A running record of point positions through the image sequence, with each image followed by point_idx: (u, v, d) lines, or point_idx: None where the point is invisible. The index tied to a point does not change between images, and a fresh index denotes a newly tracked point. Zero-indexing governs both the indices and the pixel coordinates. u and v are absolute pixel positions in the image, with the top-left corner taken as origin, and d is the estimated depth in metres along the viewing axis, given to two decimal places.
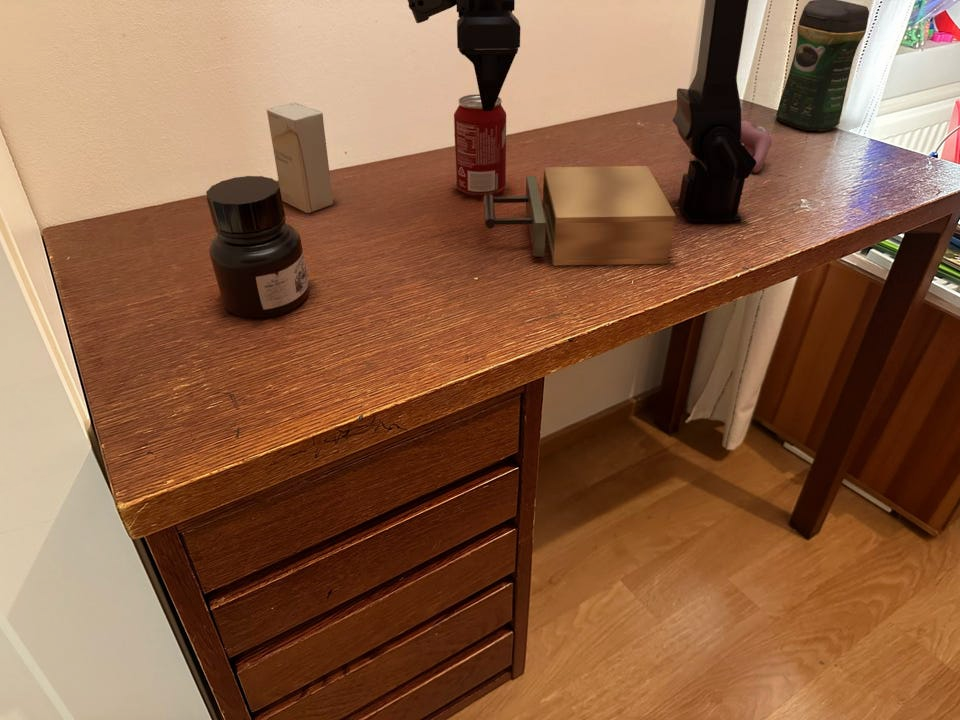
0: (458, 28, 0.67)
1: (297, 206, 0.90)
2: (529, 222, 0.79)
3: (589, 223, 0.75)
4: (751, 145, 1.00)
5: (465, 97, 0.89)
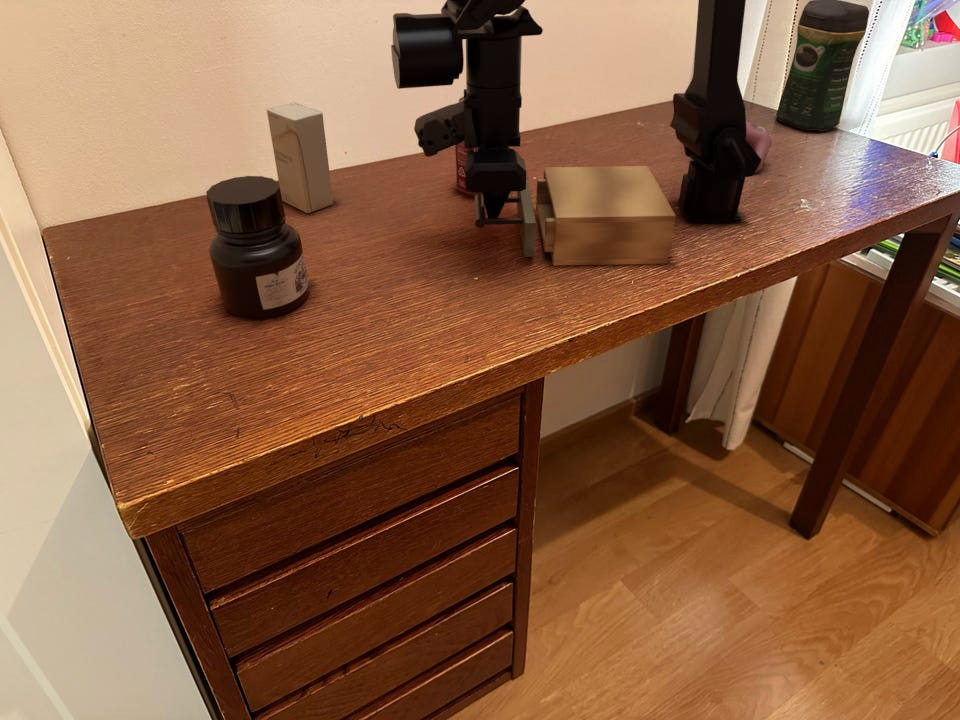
0: (466, 173, 0.69)
1: (297, 206, 0.90)
2: (519, 222, 0.79)
3: (589, 223, 0.75)
4: (751, 145, 1.00)
5: None
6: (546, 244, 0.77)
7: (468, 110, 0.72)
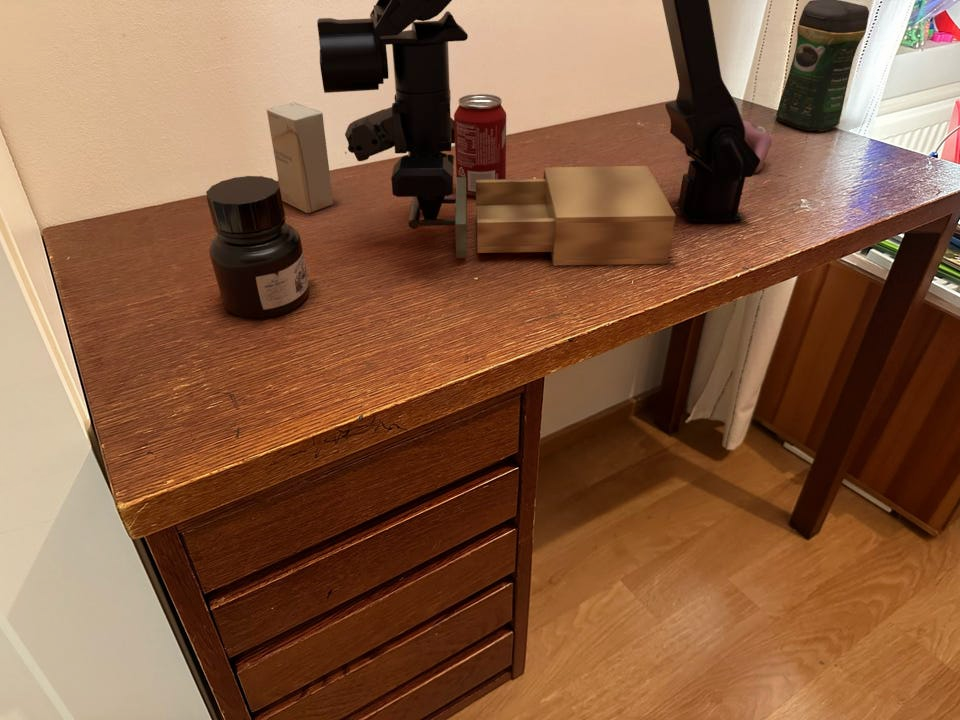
0: (392, 178, 0.69)
1: (297, 206, 0.90)
2: (453, 223, 0.79)
3: (589, 223, 0.75)
4: (751, 145, 1.00)
5: (465, 97, 0.89)
6: (478, 245, 0.77)
7: (397, 115, 0.72)
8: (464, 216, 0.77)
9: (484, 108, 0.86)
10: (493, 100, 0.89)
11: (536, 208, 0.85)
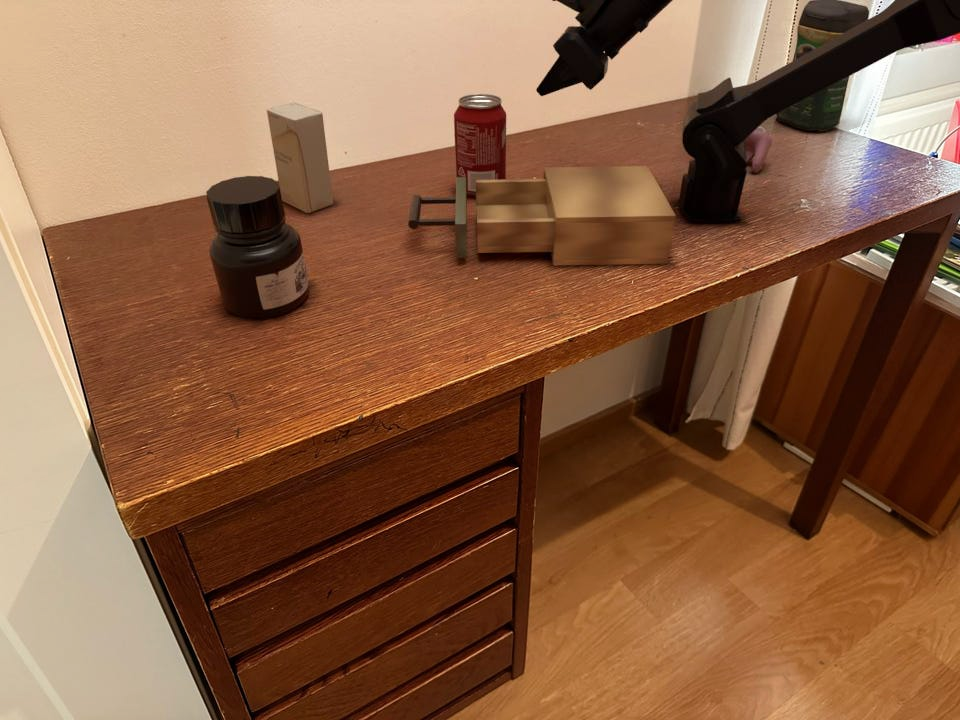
0: (566, 34, 0.72)
1: (297, 206, 0.90)
2: (453, 223, 0.79)
3: (589, 223, 0.75)
4: (751, 145, 1.00)
5: (465, 97, 0.89)
6: (478, 245, 0.77)
7: None
8: (464, 216, 0.77)
9: (484, 108, 0.86)
10: (493, 100, 0.89)
11: (536, 208, 0.85)
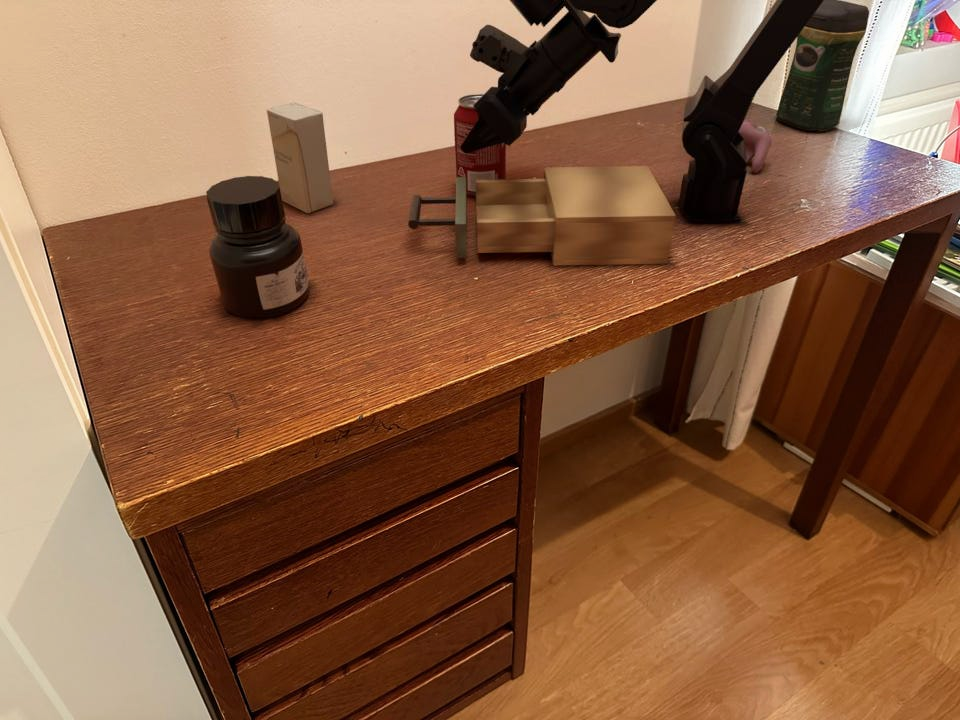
0: (484, 96, 0.78)
1: (297, 206, 0.90)
2: (453, 223, 0.79)
3: (589, 223, 0.75)
4: (751, 145, 1.00)
5: (465, 97, 0.89)
6: (478, 245, 0.77)
7: (524, 57, 0.81)
8: (464, 216, 0.77)
9: None
10: None
11: (536, 208, 0.85)
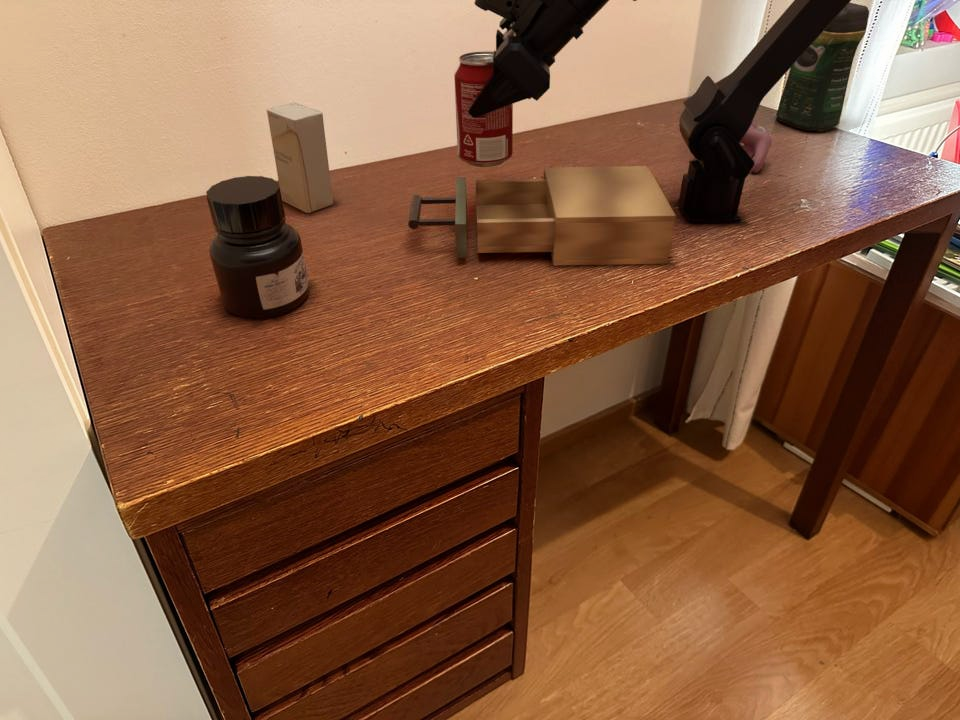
0: (508, 45, 0.69)
1: (297, 206, 0.90)
2: (453, 223, 0.79)
3: (589, 223, 0.75)
4: (751, 145, 1.00)
5: (464, 56, 0.80)
6: (478, 245, 0.77)
7: (539, 1, 0.73)
8: (464, 216, 0.77)
9: None
10: None
11: (536, 208, 0.85)
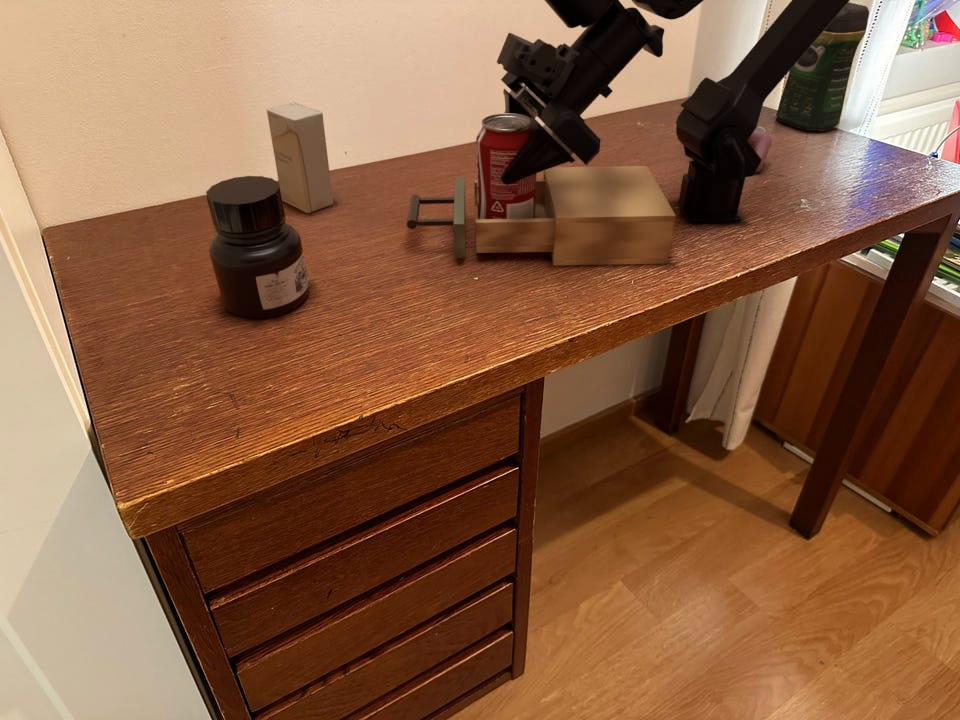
0: (562, 114, 0.67)
1: (297, 206, 0.90)
2: (451, 223, 0.79)
3: (589, 223, 0.75)
4: (751, 145, 1.00)
5: (483, 121, 0.76)
6: (477, 245, 0.77)
7: (572, 64, 0.71)
8: (462, 216, 0.77)
9: (524, 129, 0.74)
10: (514, 119, 0.77)
11: (535, 208, 0.85)
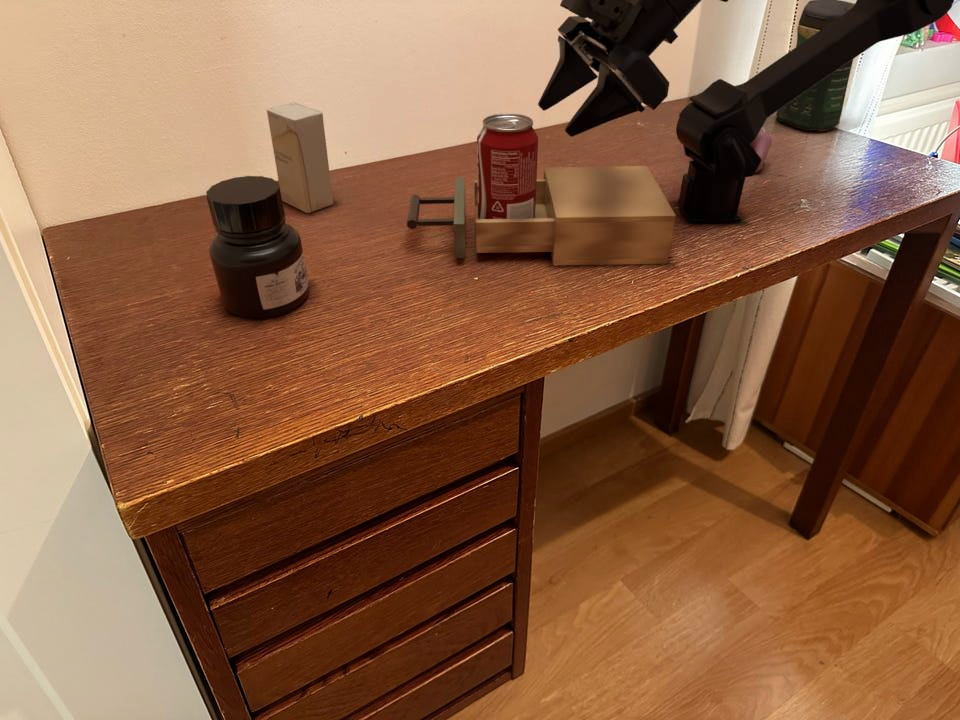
0: (633, 53, 0.65)
1: (297, 206, 0.90)
2: (451, 223, 0.79)
3: (589, 223, 0.75)
4: (751, 145, 1.00)
5: (484, 121, 0.76)
6: (477, 245, 0.77)
7: (639, 6, 0.69)
8: (463, 216, 0.77)
9: (524, 129, 0.74)
10: (515, 119, 0.77)
11: (535, 208, 0.85)
